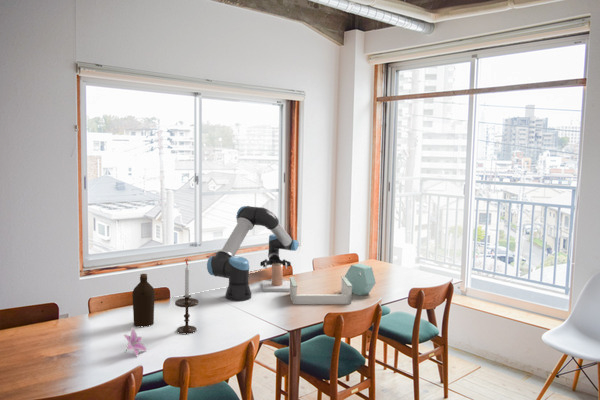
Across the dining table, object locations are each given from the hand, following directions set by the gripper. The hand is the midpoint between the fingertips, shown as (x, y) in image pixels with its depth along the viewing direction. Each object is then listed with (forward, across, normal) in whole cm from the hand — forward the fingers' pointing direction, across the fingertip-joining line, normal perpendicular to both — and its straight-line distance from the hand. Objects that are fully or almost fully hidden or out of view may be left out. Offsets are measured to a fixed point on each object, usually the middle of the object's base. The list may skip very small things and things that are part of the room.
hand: (276, 266), depth 322 cm
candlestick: (+83, +48, -11) cm, 96 cm away
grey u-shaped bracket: (+34, -24, -11) cm, 43 cm away
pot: (+10, 0, -9) cm, 13 cm away
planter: (+22, -51, -11) cm, 57 cm away
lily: (+108, +67, -11) cm, 128 cm away
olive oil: (+73, +70, -11) cm, 102 cm away
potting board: (+10, 0, -11) cm, 15 cm away
